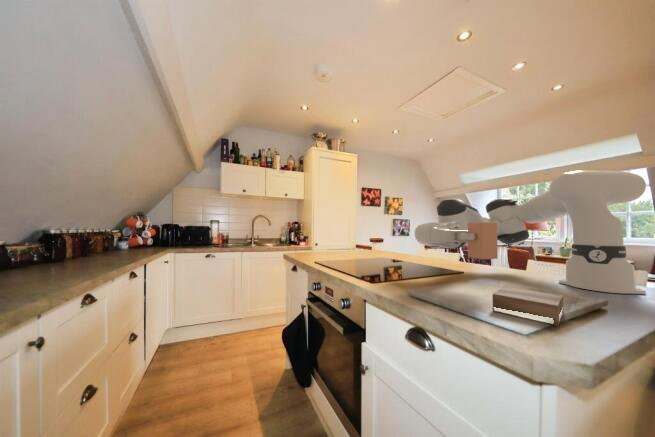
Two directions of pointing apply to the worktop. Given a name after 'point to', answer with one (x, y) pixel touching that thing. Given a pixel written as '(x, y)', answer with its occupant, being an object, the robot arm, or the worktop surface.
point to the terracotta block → (483, 241)
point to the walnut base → (529, 302)
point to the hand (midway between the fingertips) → (484, 236)
